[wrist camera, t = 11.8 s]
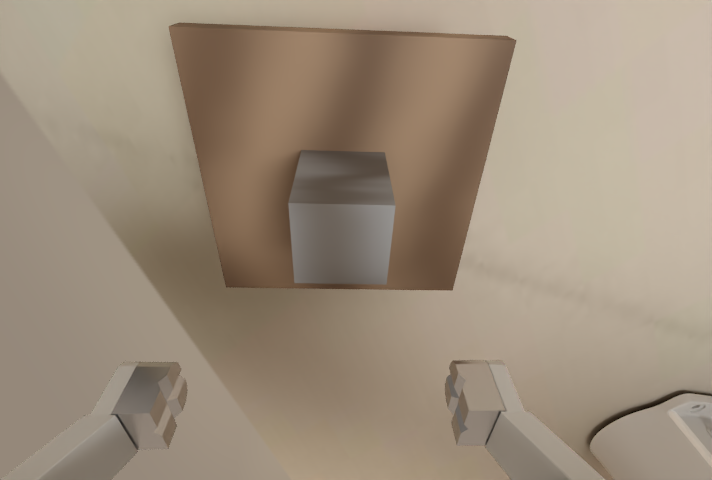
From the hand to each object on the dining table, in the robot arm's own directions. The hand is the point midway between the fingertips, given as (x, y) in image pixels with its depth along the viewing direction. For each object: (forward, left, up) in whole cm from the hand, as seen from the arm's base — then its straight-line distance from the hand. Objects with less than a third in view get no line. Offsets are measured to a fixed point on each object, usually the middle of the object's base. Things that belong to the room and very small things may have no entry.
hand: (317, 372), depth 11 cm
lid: (-1, -1, -12) cm, 12 cm away
